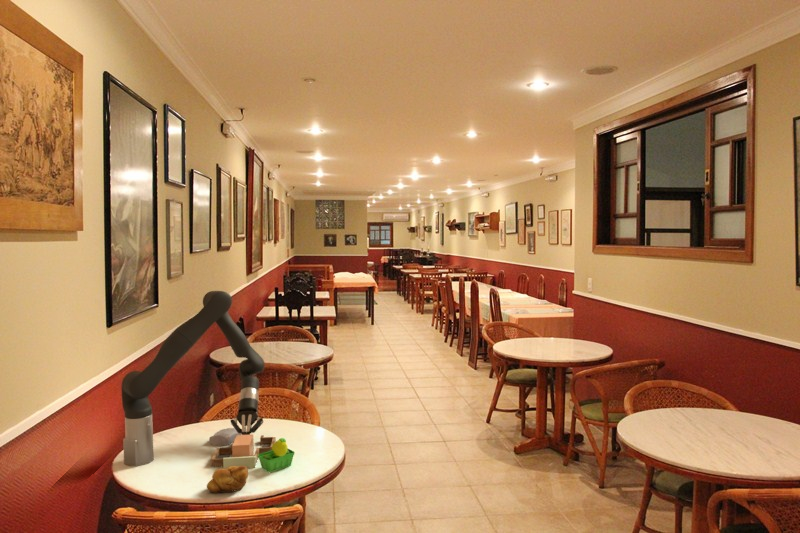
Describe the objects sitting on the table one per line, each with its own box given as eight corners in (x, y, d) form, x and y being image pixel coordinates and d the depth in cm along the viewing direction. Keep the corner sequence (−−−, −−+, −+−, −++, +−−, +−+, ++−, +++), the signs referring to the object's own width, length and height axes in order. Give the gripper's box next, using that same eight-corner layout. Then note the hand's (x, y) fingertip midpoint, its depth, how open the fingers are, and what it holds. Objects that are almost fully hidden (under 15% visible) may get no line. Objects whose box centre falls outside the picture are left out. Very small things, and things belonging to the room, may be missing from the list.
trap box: (223, 443, 229) (222, 437, 229) (276, 440, 231) (276, 434, 231) (209, 469, 203) (209, 462, 203) (269, 466, 205) (269, 459, 205)
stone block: (207, 449, 228) (230, 445, 226) (205, 437, 228) (228, 433, 226) (222, 440, 239) (244, 436, 238) (220, 428, 240) (242, 425, 238)
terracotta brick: (237, 454, 217) (237, 435, 216) (253, 453, 218) (253, 434, 217) (232, 466, 206) (232, 445, 206) (249, 465, 207) (249, 444, 206)
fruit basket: (284, 459, 211) (283, 429, 211) (298, 466, 205) (297, 435, 204) (256, 468, 203) (256, 437, 203) (270, 476, 197) (269, 444, 196)
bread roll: (207, 498, 181) (206, 473, 180) (206, 485, 190) (205, 462, 189) (249, 491, 185) (248, 467, 185) (246, 479, 194) (245, 456, 194)
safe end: (223, 468, 204) (223, 457, 203) (255, 466, 205) (255, 456, 205) (223, 469, 203) (223, 458, 202) (255, 468, 204) (254, 457, 204)
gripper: (230, 397, 225) (225, 439, 214) (264, 396, 227) (261, 437, 216) (233, 407, 231) (228, 447, 219) (266, 405, 233) (263, 445, 221)
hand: (245, 442), depth 218 cm, fingers closed
